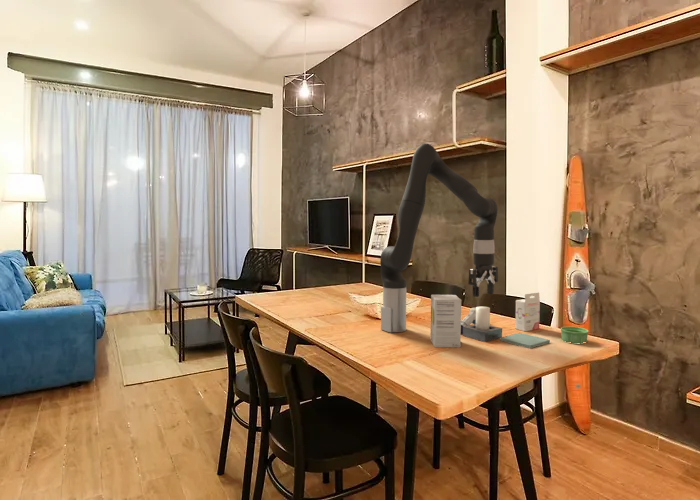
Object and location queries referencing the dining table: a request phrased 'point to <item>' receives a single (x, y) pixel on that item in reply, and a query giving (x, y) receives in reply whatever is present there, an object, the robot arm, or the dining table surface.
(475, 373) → the dining table surface
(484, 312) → the end plug
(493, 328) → the socket block
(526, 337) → the mat
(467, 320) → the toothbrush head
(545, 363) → the dining table surface
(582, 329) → the ramekin
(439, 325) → the supplement box
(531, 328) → the ink cartridge box
